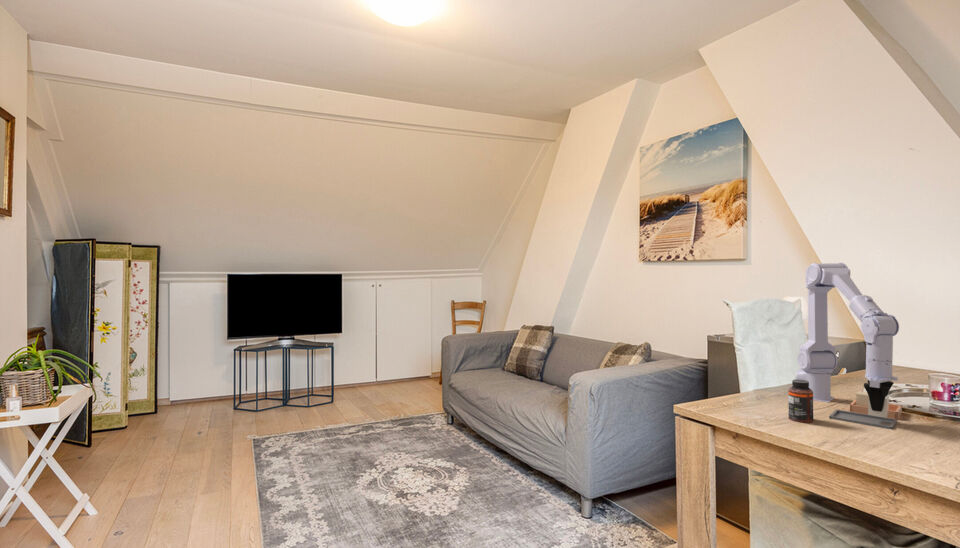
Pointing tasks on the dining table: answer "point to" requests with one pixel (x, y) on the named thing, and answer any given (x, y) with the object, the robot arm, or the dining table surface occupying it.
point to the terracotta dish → (893, 410)
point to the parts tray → (863, 419)
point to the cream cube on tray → (884, 412)
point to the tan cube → (862, 399)
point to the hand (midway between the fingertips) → (878, 408)
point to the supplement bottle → (800, 402)
